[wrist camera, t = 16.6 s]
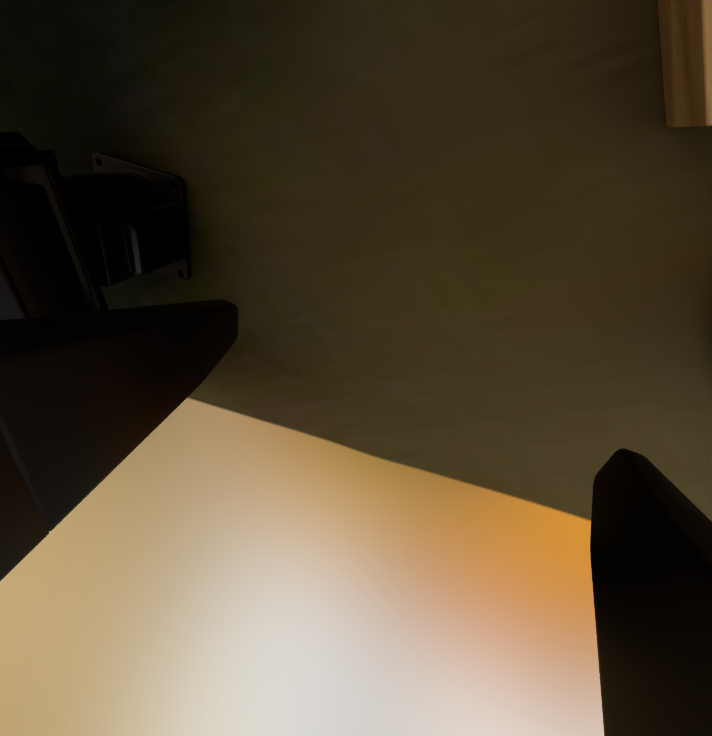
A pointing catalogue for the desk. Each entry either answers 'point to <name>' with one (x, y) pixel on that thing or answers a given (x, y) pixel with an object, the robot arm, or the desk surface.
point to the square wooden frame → (686, 61)
